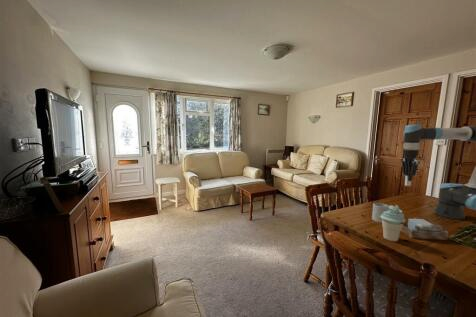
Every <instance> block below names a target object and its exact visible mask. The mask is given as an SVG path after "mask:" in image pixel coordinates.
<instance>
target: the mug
mask: <svg viewBox="0 0 476 317" xmlns="http://www.w3.org/2000/svg"><path fill="white" fill-rule="evenodd" d="M387 208H389V205H388V204H386V203H382V202H373V204H372V212H371V213H372V215H371V220H372V221H374V222H376V223H380V224H382V218H381V217H380V216H381V215H382V213H384V211H385V212H387V210H386V209H387Z"/></svg>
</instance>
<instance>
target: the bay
mask: <svg viewBox="0 0 476 317" xmlns="http://www.w3.org/2000/svg"><path fill="white" fill-rule="evenodd" d="M413 219H420V218H419V217H413ZM444 229H445V228H444V227H443V226H442V225H440V224H433V225H427V224H417V225H415V229H409V228H408V226H406V225H405V224H403V226H402V229H401V231H400V232H402V233H403V234H405V235H407V236H408V237H409V238H410V239H413V238H414V239H426V240H445V241H448V239H449V232H448V231H447V230H444Z"/></svg>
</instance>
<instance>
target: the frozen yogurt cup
mask: <svg viewBox="0 0 476 317" xmlns="http://www.w3.org/2000/svg"><path fill="white" fill-rule="evenodd" d="M388 206H389V207H388V208H387V209H386V210H387V212H385V211H384V213H382V215H381V216H380V217H381V218H382V223H381V225H382V234H383V235H382V236H383V238H384V239H385V240H388V241H390V242H398V241H399V238H400V235H401V234H400V233H401V232H402V231H401V229H402V226H403V225H404V223H405V222H407V219H406V218H405V214H404V213H403V210H401V209H400V207H399V206H398V205H397V204H395V205H391V204H390V205H388Z"/></svg>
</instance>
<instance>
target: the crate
mask: <svg viewBox="0 0 476 317" xmlns="http://www.w3.org/2000/svg"><path fill="white" fill-rule="evenodd" d="M407 221H408V222H407V227H408V228H409V229H415V225H417V224H427V225H434V224H433V223H431V222H429V221H427V220H425V219H424V218H419V219H414V218H408V219H407Z"/></svg>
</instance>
